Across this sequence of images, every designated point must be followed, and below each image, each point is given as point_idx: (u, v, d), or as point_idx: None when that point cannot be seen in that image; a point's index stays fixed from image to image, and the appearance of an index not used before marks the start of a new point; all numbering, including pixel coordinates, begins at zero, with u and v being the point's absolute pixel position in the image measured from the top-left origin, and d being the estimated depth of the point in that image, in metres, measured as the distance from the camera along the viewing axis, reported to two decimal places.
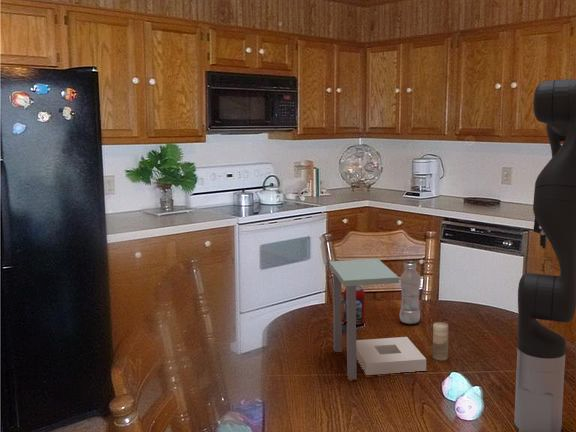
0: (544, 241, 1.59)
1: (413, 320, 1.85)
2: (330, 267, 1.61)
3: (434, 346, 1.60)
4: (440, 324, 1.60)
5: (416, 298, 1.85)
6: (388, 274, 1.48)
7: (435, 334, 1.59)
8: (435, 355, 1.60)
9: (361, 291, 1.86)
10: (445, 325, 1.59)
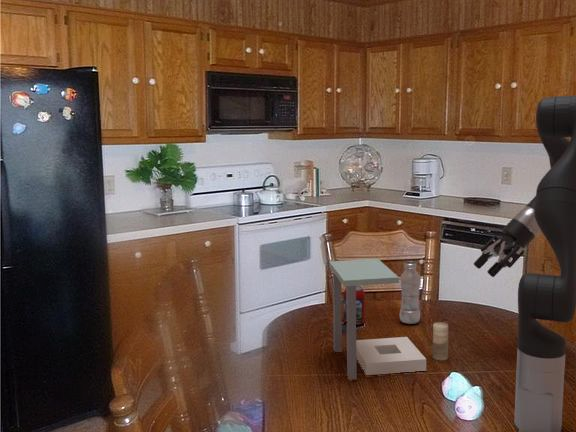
0: (478, 258, 1.62)
1: (413, 320, 1.85)
2: (330, 267, 1.61)
3: (434, 346, 1.60)
4: (440, 324, 1.60)
5: (416, 298, 1.85)
6: (388, 274, 1.48)
7: (435, 334, 1.59)
8: (435, 355, 1.60)
9: (361, 291, 1.86)
10: (445, 325, 1.59)
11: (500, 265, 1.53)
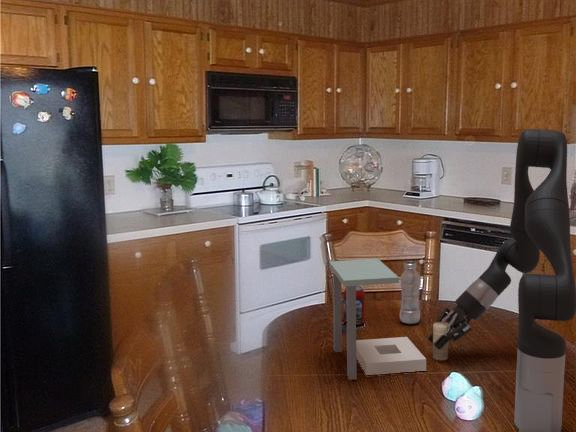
0: None
1: (413, 320, 1.85)
2: (330, 267, 1.61)
3: (434, 346, 1.60)
4: (440, 324, 1.60)
5: (416, 298, 1.85)
6: (388, 274, 1.48)
7: (435, 334, 1.59)
8: (435, 355, 1.60)
9: (361, 291, 1.86)
10: (445, 325, 1.59)
11: (446, 338, 1.57)
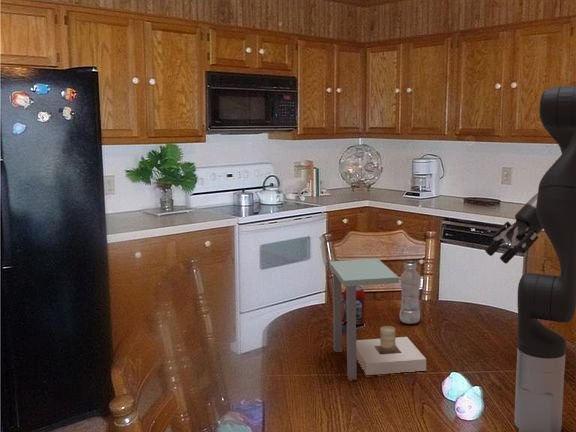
0: (490, 245, 1.58)
1: (413, 320, 1.85)
2: (330, 267, 1.61)
3: (381, 350, 1.58)
4: (388, 327, 1.58)
5: (416, 298, 1.85)
6: (388, 274, 1.48)
7: (382, 338, 1.57)
8: None
9: (361, 291, 1.86)
10: (392, 329, 1.57)
11: (513, 251, 1.48)
